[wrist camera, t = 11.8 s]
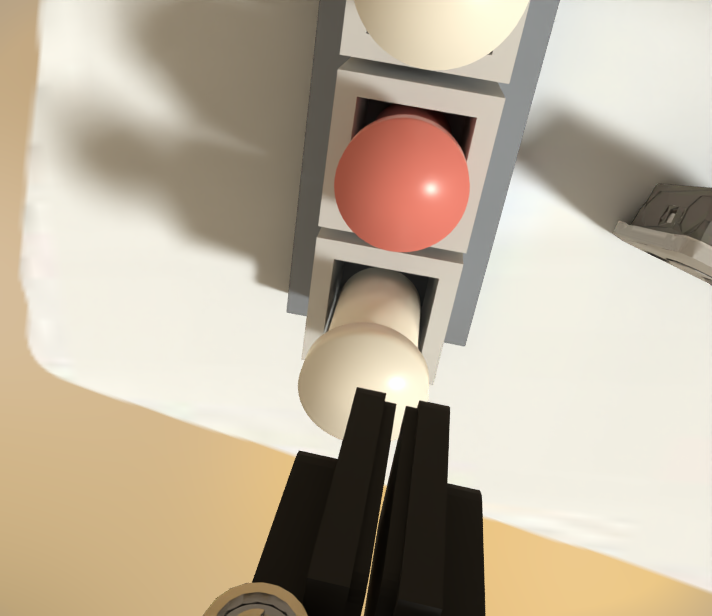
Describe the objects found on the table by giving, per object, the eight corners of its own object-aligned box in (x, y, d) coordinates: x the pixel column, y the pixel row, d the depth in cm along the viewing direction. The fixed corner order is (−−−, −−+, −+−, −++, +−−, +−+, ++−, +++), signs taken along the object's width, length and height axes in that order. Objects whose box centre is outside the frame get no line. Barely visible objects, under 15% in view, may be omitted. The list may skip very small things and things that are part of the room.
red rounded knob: (475, 97, 32) (484, 134, 24) (451, 202, 34) (453, 263, 27) (366, 78, 32) (343, 109, 25) (350, 184, 35) (326, 239, 27)
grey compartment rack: (584, -122, 31) (636, -156, 23) (463, 327, 43) (468, 411, 35) (344, -160, 31) (309, -208, 23) (294, 295, 44) (259, 370, 36)
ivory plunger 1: (441, 267, 32) (440, 351, 25) (420, 357, 35) (414, 455, 28) (335, 247, 33) (305, 325, 26) (322, 338, 35) (291, 431, 28)
